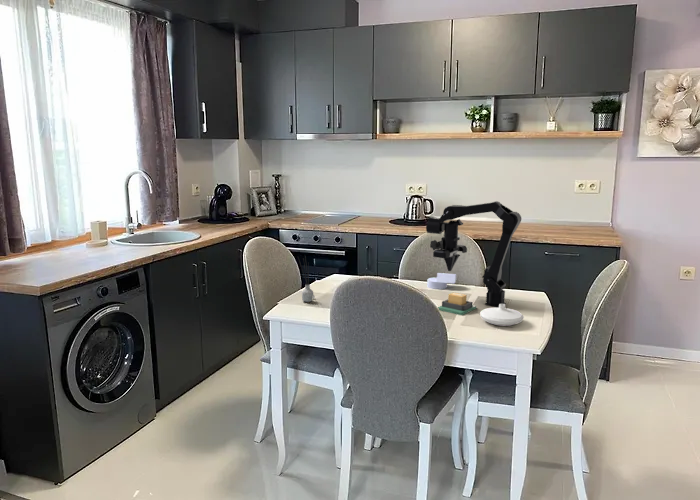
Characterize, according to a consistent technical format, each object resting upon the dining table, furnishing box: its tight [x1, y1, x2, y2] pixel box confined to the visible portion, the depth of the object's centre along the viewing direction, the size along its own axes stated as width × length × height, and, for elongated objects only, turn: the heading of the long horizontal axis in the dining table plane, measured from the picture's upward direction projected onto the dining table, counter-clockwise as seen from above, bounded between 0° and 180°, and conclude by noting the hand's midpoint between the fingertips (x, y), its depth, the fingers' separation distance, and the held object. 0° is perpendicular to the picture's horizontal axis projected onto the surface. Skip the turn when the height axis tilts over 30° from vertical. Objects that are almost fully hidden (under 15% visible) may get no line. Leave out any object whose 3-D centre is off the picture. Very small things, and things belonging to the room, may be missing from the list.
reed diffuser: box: [297, 255, 315, 303], centre depth 232 cm, size 10×7×20 cm
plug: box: [447, 292, 467, 305], centre depth 223 cm, size 6×4×5 cm, turn 50°
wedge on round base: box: [426, 272, 457, 290], centre depth 257 cm, size 9×7×13 cm
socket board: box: [438, 298, 477, 316], centre depth 223 cm, size 11×12×3 cm
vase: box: [479, 304, 525, 327], centre depth 206 cm, size 16×16×7 cm
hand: (449, 270), depth 237 cm, fingers closed
